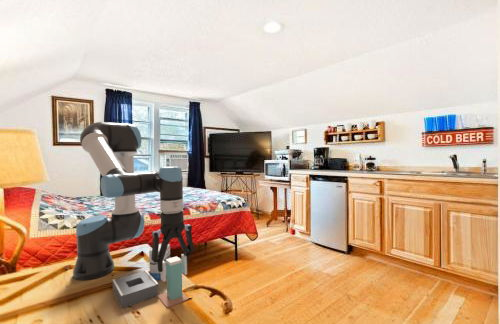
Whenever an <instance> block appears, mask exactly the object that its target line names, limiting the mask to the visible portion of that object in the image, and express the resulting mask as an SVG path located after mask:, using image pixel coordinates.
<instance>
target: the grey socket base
mask: <svg viewBox="0 0 500 324" xmlns="http://www.w3.org/2000/svg"><path fill="white" fill-rule="evenodd" d="M112 292H113V294H114V296H115V298H116V300H117V302H118V303H119V305H120V308H121V309H123V308H124V309H125V308H127V307H129V306H132V305H135V304H138V303H141V302H144V301H146V300H149V299H152V298H154V297H155V298H156V297H158V295H159V282H157V280H155V279H154V278H153V277H152V276H151V275H150V272H149V271H148V270H147V269H144V271H140V272H137V273H133V274H130V275H126V276H123V277H120V278H116V279H114V278H113V279H112Z"/></svg>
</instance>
